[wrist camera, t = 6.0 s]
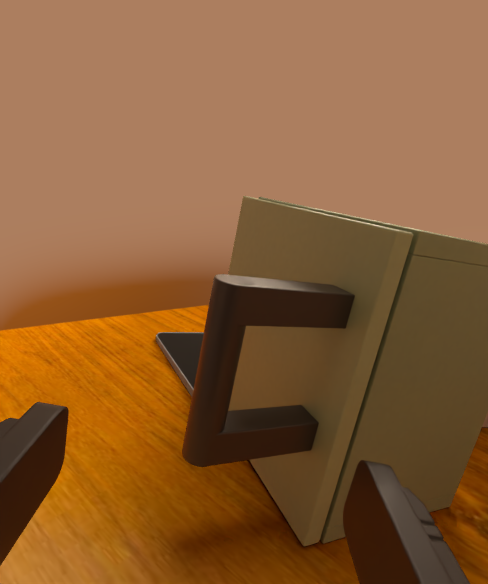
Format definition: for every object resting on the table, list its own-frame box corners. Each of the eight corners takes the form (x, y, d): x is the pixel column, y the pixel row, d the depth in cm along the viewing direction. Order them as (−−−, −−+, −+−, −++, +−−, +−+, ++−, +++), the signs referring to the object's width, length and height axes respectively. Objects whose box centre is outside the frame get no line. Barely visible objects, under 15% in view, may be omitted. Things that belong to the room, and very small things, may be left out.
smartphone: (217, 332, 44) (291, 404, 31) (215, 340, 44) (289, 414, 31) (153, 332, 40) (208, 413, 27) (151, 340, 40) (206, 424, 28)
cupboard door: (178, 584, 16) (255, 202, 12) (125, 395, 28) (154, 178, 24) (319, 543, 19) (415, 233, 15) (216, 390, 32) (255, 198, 28)
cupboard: (322, 544, 19) (420, 230, 15) (219, 392, 32) (258, 196, 28) (450, 506, 24) (550, 257, 20) (315, 386, 36) (361, 217, 32)
